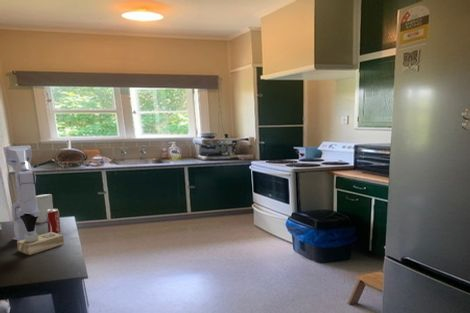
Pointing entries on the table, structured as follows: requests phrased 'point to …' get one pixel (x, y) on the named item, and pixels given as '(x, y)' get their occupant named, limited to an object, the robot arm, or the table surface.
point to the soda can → (53, 221)
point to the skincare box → (43, 206)
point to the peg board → (40, 244)
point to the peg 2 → (49, 235)
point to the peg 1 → (31, 237)
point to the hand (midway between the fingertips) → (30, 231)
